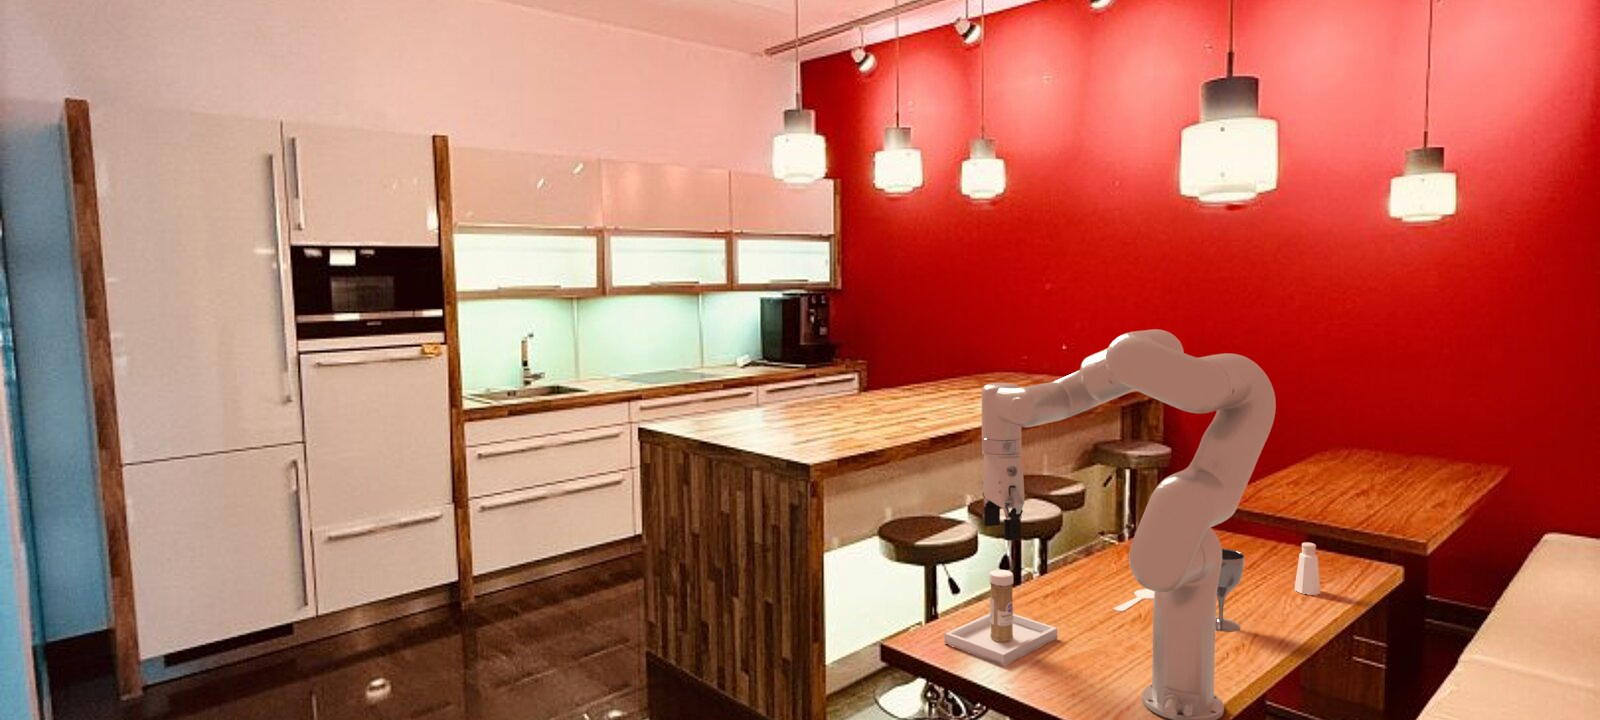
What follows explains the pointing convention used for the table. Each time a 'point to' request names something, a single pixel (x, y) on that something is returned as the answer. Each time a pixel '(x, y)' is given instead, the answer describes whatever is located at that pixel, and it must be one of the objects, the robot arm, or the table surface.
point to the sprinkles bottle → (1001, 605)
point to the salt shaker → (1308, 571)
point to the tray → (980, 643)
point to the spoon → (1136, 599)
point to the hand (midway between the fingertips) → (1001, 532)
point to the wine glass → (1228, 585)
